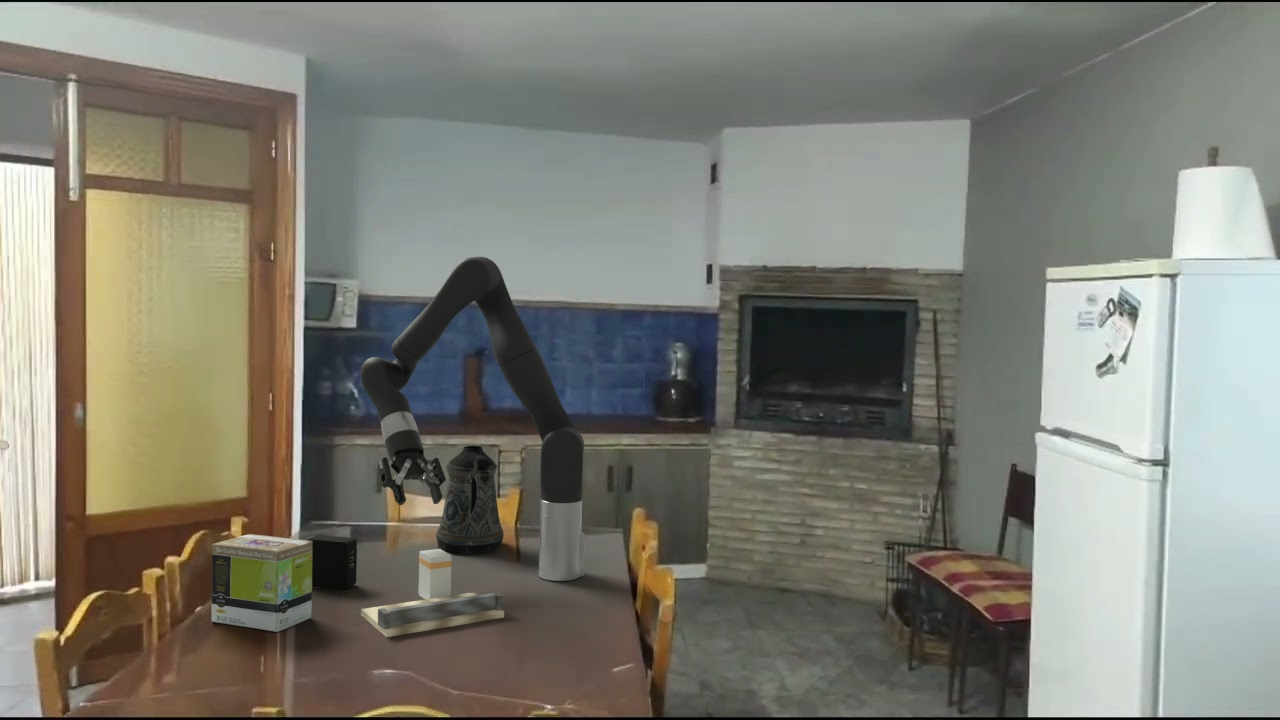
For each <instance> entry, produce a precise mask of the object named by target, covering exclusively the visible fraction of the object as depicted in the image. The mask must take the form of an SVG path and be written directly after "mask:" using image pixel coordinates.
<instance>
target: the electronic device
mask: <svg viewBox="0 0 1280 720" xmlns="http://www.w3.org/2000/svg"><path fill="white" fill-rule="evenodd" d="M305 540H309V541H312V588H314V587H318V588H317V589H324V588H329V590H334V589H338V590H337V591H346V590H347V589H348V588H349V589H350V587H353V586H354V585H356V583H357V569H358V568H357V564H358V562H357V561H358V560H357V559H358V558H357V557H358V541H357V539H356V538H354V537H347V536H346V537H345V536H334V535H322V534H321V535H320V534H316V535H311V536H310V537H306V538H305Z"/></svg>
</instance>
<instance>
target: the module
mask: <svg viewBox="0 0 1280 720" xmlns="http://www.w3.org/2000/svg"><path fill="white" fill-rule="evenodd" d="M418 552H419V555H418V556H419V557H418V564H419V565H418V596H420V597H421V598H423V600H425V599H432V598H439V597H445V596H452V593H451V586H452V585H451V584H452V583H451V582H452V565H453V564H452V563H453V561H452V554H451V553H447V552H445V551H443V550H441V549H438V548H434V549H428V550H427V549H425V550H419V551H418Z"/></svg>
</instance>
